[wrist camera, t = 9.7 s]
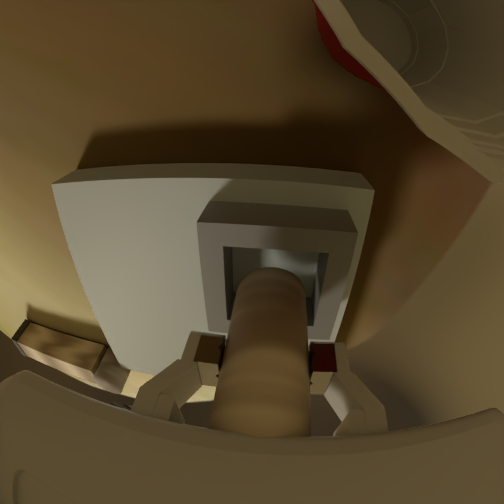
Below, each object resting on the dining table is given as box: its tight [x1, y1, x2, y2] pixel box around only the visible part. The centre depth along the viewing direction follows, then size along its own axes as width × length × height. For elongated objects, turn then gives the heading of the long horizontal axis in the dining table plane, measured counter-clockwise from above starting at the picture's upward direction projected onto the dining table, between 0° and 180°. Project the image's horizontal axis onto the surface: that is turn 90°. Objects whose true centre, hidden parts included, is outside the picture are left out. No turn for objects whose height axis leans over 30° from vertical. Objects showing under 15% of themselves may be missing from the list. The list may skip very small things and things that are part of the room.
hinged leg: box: [12, 319, 131, 394], centre depth 28 cm, size 19×4×4 cm, turn 89°
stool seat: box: [51, 163, 375, 375], centre depth 20 cm, size 20×20×6 cm
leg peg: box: [208, 267, 311, 437], centre depth 11 cm, size 4×4×10 cm
